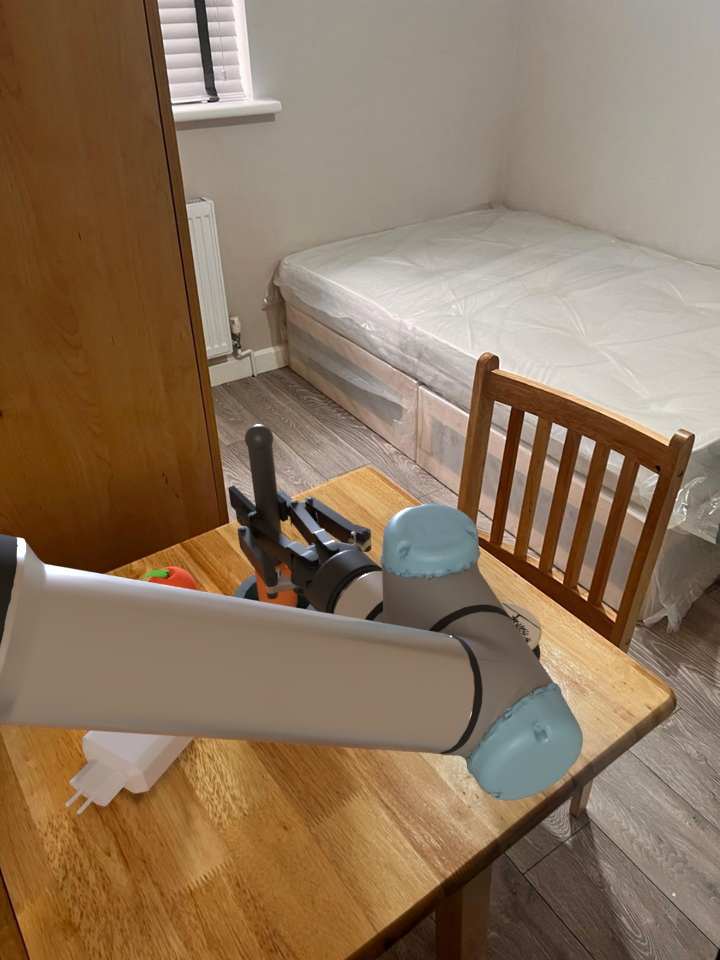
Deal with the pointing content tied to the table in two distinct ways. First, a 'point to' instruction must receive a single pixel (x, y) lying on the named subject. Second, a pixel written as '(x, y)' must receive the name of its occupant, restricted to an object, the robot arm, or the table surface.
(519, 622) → the travel mug
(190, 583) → the clementine
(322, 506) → the robot arm
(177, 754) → the charger
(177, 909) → the table surface
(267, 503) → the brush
